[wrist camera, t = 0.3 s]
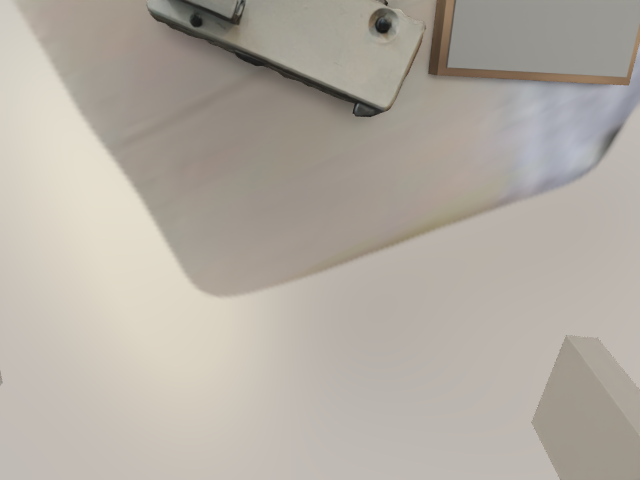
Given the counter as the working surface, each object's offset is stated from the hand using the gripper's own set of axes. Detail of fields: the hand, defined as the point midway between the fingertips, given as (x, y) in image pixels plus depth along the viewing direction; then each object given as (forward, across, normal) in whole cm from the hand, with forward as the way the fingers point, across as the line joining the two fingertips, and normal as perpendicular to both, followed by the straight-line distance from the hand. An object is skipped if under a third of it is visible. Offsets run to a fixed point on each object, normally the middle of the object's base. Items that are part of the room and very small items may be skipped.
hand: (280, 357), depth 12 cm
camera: (+27, -2, +6) cm, 27 cm away
